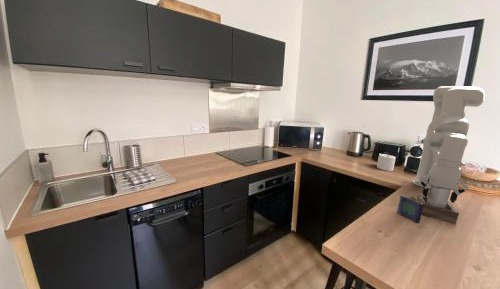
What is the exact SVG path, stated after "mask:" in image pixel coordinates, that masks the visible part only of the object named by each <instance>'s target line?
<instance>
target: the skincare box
mask: <svg viewBox="0 0 500 289" xmlns="http://www.w3.org/2000/svg"><path fill="white" fill-rule="evenodd" d="M451 193H452V190H451V189H445V188H440V187H435V186H431V188H430V189H429V191H428V195H427V197H428V199H427V202H426V204H427V205H431V206H435V207H440V208H444V209H445V208H446V205H447V201H449V199H450V198H449V197H450V196H451Z"/></svg>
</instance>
